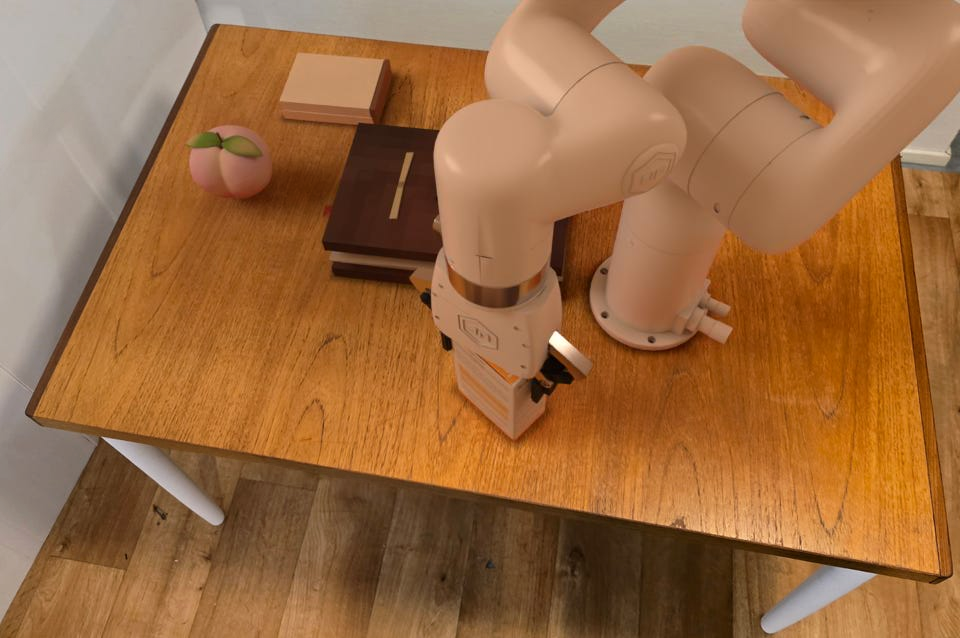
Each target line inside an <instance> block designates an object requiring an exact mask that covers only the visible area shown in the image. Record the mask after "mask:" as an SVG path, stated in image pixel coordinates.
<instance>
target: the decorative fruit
mask: <svg viewBox="0 0 960 638" xmlns="http://www.w3.org/2000/svg"><path fill="white" fill-rule="evenodd" d="M185 146H186V147H188V148H191V150H190V154H189V172H190V176H191V177H192V180H193V181H194V183H195V184H196V185H197V186H198V187H199V188H200V189H202V190H204V191H206V192H208V193H210V194H212V195H215V196H217V197H221V198H226V199H234V198H238V199H248V198H251V197H255V196H256V195H258V194H259V193H261V192H262V191H263V190H264V189H266V188H267V187H268V185H269V183H270V181H271V179H272V176H273V161H272V160H273V159H272V156H271V152H270V149H269V146H268V144H267V142H266V141H265V139H264V138H263V137H262V136H261V135H260V134H259V133H257V132H256V131H254V130H253V129H251V128H248V127H246V126H241V125H234V124H225V125H219V126H215V127H213V128H211V129H209V130H207V131H202V132H198V133H196V134H195V135H193V136H192V137H190V138H189V139H188V140H187V141H186V142H185Z"/></svg>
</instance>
